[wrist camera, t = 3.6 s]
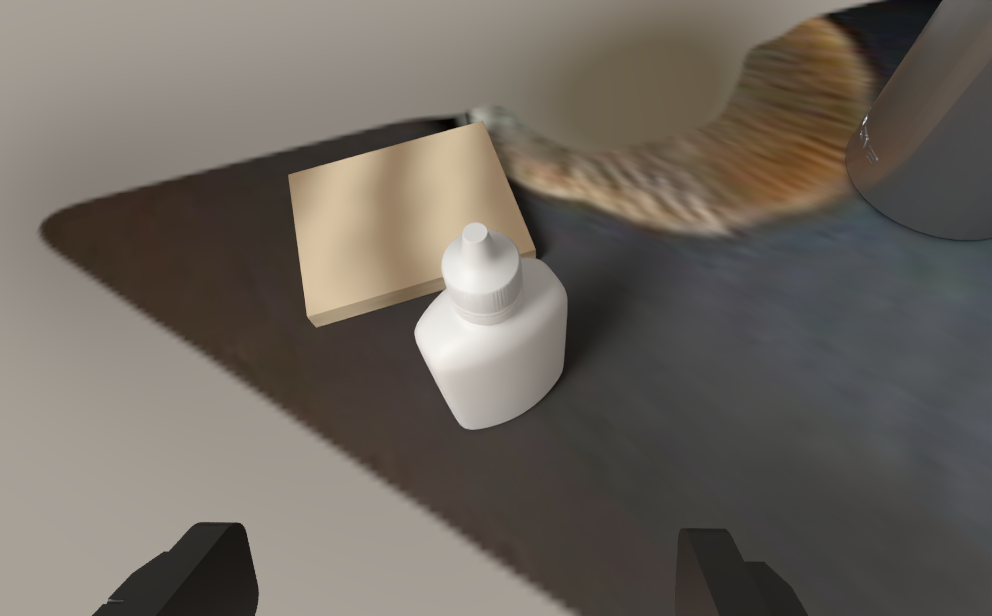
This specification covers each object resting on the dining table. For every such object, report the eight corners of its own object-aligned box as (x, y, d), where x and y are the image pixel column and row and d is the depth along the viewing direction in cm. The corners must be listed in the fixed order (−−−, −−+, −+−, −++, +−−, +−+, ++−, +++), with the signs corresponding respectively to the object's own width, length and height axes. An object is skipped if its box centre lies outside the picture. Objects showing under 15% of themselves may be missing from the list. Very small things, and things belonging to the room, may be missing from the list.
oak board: (484, 136, 33) (482, 120, 32) (536, 262, 28) (535, 249, 27) (296, 188, 32) (288, 174, 31) (316, 327, 27) (307, 316, 26)
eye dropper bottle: (446, 346, 26) (379, 181, 16) (559, 338, 26) (568, 164, 15) (446, 433, 24) (368, 309, 14) (569, 426, 24) (587, 292, 13)
